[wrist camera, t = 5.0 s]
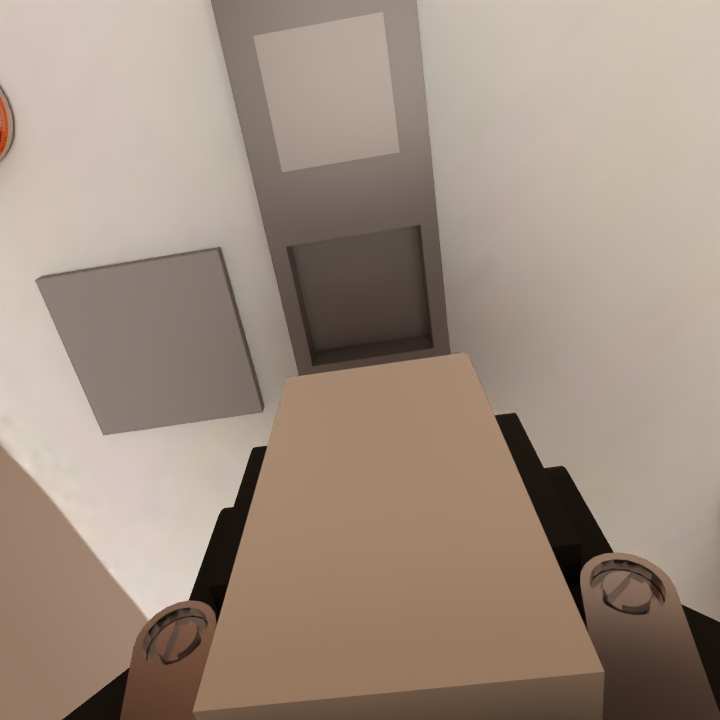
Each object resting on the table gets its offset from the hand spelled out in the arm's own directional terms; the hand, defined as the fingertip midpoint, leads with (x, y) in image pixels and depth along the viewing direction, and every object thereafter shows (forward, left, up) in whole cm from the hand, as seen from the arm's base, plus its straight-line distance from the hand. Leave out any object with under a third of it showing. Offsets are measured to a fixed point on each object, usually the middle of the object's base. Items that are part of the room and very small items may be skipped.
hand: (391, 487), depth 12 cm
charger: (0, 0, -2) cm, 2 cm away
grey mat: (-2, +11, -16) cm, 20 cm away
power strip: (-3, 0, -16) cm, 16 cm away
